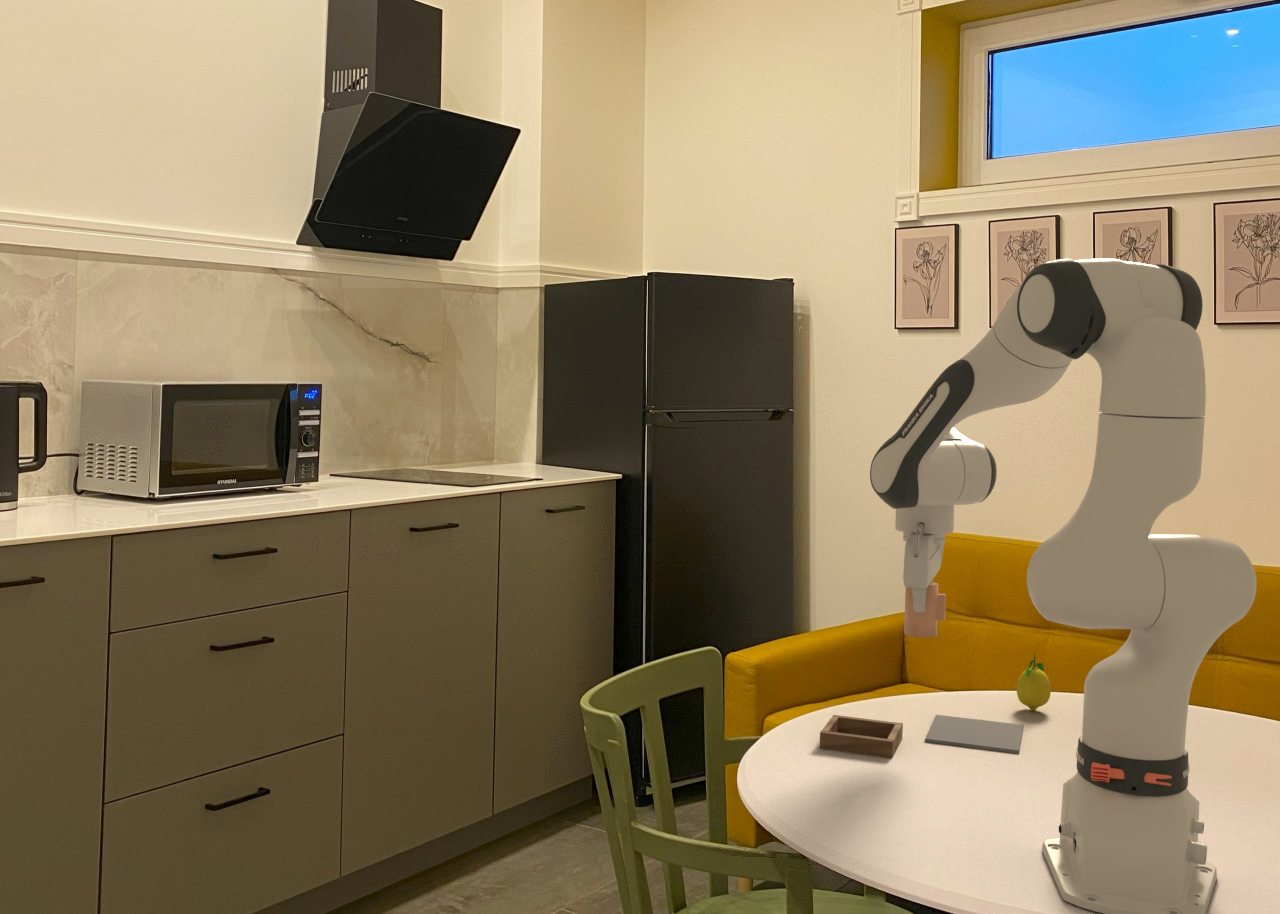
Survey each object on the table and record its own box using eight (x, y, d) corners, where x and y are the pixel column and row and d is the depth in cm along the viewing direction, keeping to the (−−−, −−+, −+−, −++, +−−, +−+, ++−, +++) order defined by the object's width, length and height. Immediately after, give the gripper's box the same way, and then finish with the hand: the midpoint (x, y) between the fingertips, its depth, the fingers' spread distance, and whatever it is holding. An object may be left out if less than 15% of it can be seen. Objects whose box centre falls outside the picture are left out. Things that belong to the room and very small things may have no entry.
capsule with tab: (942, 639, 175) (944, 587, 174) (902, 635, 177) (903, 584, 177) (945, 632, 180) (947, 582, 179) (906, 629, 182) (907, 579, 181)
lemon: (1025, 717, 193) (1027, 658, 192) (1006, 707, 198) (1008, 650, 198) (1060, 714, 194) (1062, 656, 194) (1040, 705, 200) (1042, 648, 199)
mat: (1018, 753, 173) (1019, 750, 173) (924, 741, 178) (925, 738, 178) (1023, 727, 186) (1023, 724, 186) (935, 717, 191) (935, 714, 191)
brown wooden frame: (892, 758, 170) (892, 741, 170) (819, 748, 174) (820, 732, 174) (902, 738, 180) (902, 723, 180) (833, 730, 184) (833, 714, 183)
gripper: (938, 528, 167) (935, 622, 167) (951, 514, 186) (948, 598, 187) (894, 526, 169) (892, 618, 170) (911, 512, 188) (909, 595, 189)
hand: (921, 607), depth 178 cm, fingers closed on capsule with tab, 5 cm apart
